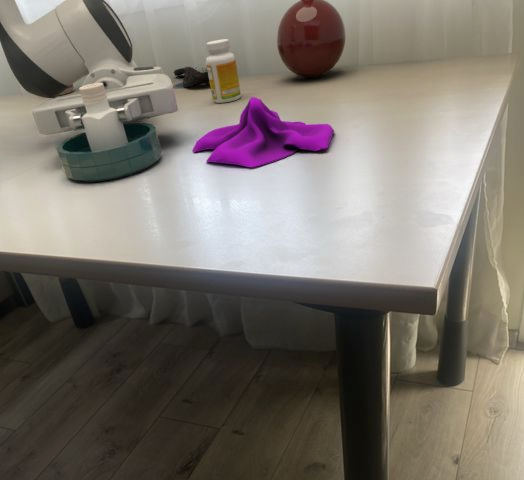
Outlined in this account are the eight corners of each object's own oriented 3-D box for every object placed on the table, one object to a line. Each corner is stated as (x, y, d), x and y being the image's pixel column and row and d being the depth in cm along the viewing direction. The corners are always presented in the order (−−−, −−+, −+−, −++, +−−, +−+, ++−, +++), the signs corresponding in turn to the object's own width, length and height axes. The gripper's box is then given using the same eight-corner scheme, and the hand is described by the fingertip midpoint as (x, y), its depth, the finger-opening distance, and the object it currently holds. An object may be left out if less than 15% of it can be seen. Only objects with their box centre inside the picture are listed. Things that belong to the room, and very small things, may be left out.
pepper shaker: (93, 163, 74) (69, 90, 69) (113, 153, 77) (91, 82, 71) (113, 164, 72) (90, 89, 67) (133, 154, 75) (112, 81, 69)
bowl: (58, 191, 70) (47, 160, 67) (76, 160, 81) (66, 133, 78) (160, 172, 70) (152, 141, 67) (164, 144, 81) (157, 117, 78)
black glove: (191, 58, 130) (227, 61, 110) (195, 75, 132) (231, 81, 112) (159, 66, 128) (190, 70, 108) (163, 83, 130) (194, 90, 110)
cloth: (360, 142, 68) (359, 91, 64) (225, 180, 64) (216, 127, 60) (288, 113, 85) (284, 71, 82) (178, 141, 81) (168, 98, 77)
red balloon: (267, 83, 107) (253, -38, 95) (312, 68, 113) (303, -48, 102) (315, 86, 99) (306, -47, 87) (360, 70, 105) (357, -56, 93)
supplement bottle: (246, 95, 101) (237, 37, 95) (232, 103, 97) (222, 42, 92) (222, 96, 103) (212, 39, 98) (207, 103, 100) (196, 45, 94)
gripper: (37, 88, 80) (13, 108, 69) (171, 64, 80) (168, 80, 69) (53, 131, 84) (32, 157, 72) (181, 108, 84) (180, 130, 73)
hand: (100, 119), depth 71 cm, fingers closed on pepper shaker, 5 cm apart
